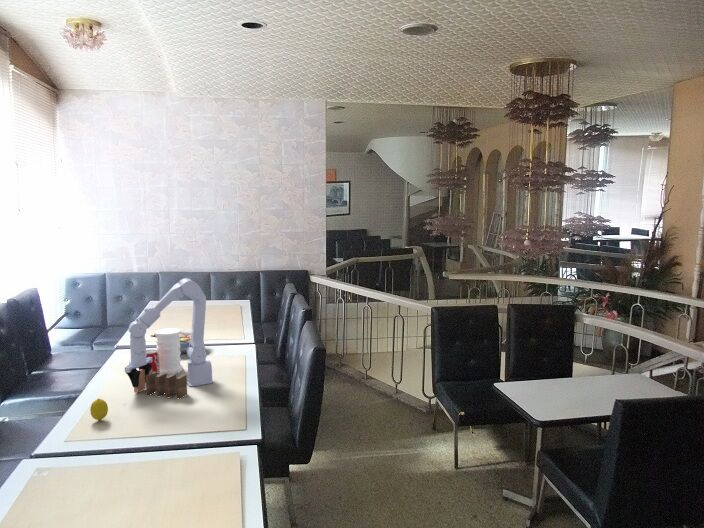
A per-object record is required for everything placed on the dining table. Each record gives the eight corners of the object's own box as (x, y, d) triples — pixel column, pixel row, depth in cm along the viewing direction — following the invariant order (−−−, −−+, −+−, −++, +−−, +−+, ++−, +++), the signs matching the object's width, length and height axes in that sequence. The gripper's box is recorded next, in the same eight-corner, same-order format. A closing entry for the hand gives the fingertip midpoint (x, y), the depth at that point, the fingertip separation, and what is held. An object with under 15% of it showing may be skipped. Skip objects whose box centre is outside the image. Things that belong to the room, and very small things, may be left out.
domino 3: (166, 397, 211) (165, 377, 210) (173, 392, 216) (173, 373, 215) (169, 397, 211) (169, 377, 210) (177, 393, 216) (176, 373, 215)
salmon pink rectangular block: (134, 392, 215) (133, 372, 214) (142, 388, 220) (141, 369, 219) (137, 392, 215) (136, 373, 214) (145, 388, 219) (144, 369, 218)
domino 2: (156, 396, 212) (155, 376, 212) (164, 391, 217) (163, 372, 216) (159, 396, 212) (158, 376, 211) (167, 392, 217) (166, 372, 216)
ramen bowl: (215, 349, 278) (214, 333, 277) (179, 360, 259) (178, 344, 258) (182, 342, 291) (181, 327, 290) (145, 352, 272) (144, 336, 271)
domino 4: (176, 398, 210) (175, 378, 209) (183, 394, 215) (182, 374, 214) (179, 398, 210) (179, 378, 209) (187, 394, 214) (186, 374, 213)
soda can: (154, 381, 229) (153, 354, 227) (139, 380, 230) (137, 353, 229) (163, 376, 236) (162, 349, 234) (148, 375, 237) (147, 348, 236)
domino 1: (146, 395, 214) (145, 375, 213) (154, 390, 218) (153, 371, 217) (149, 395, 213) (148, 375, 212) (157, 391, 218) (156, 371, 217)
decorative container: (161, 376, 236) (160, 335, 234) (151, 369, 245) (149, 330, 243) (187, 370, 244) (185, 331, 242) (176, 364, 252) (175, 326, 250)
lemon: (91, 425, 185) (90, 402, 184) (90, 419, 190) (89, 397, 189) (109, 422, 188) (107, 399, 187) (108, 416, 193) (106, 394, 192)
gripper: (141, 345, 223) (143, 377, 225) (117, 355, 210) (119, 389, 211) (156, 347, 221) (157, 379, 223) (132, 357, 208) (134, 391, 209)
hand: (139, 384), depth 217 cm, fingers closed on salmon pink rectangular block, 5 cm apart
